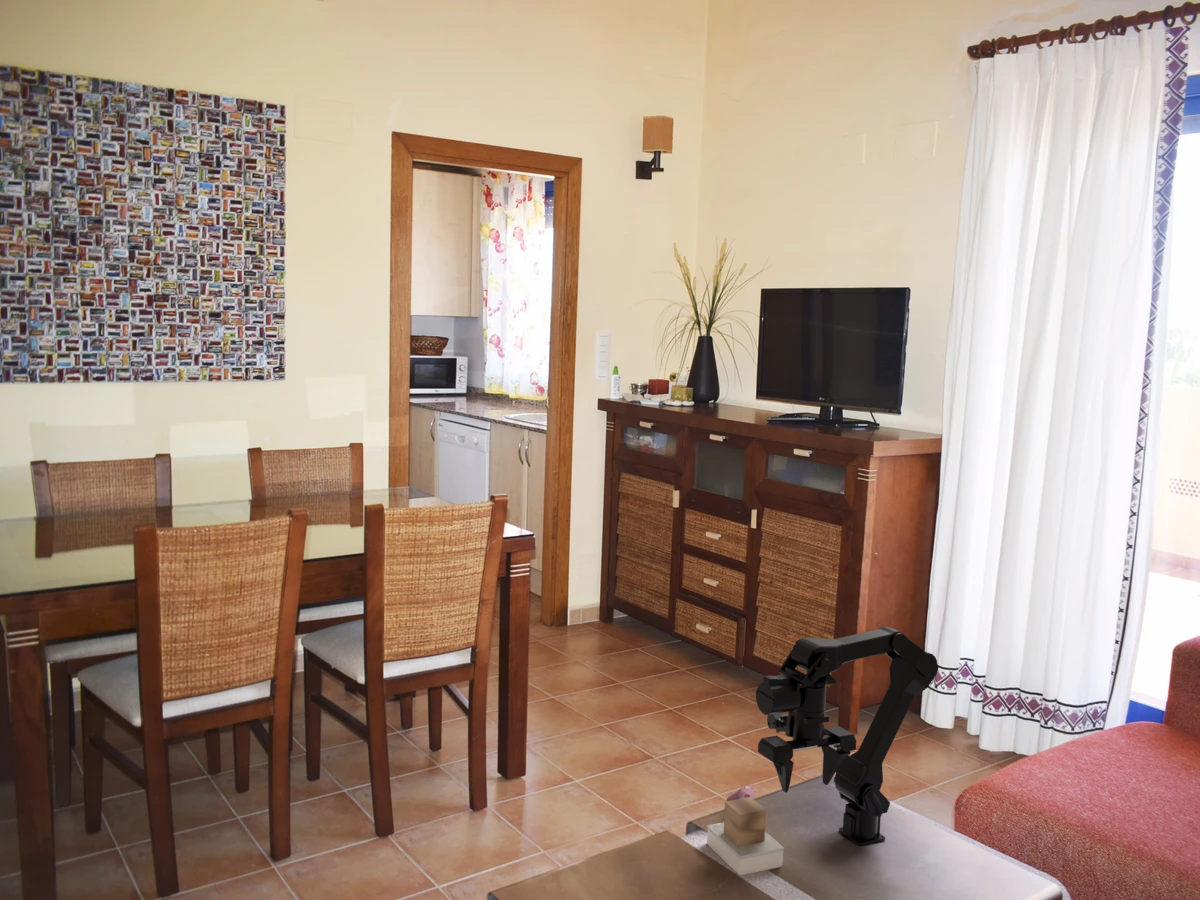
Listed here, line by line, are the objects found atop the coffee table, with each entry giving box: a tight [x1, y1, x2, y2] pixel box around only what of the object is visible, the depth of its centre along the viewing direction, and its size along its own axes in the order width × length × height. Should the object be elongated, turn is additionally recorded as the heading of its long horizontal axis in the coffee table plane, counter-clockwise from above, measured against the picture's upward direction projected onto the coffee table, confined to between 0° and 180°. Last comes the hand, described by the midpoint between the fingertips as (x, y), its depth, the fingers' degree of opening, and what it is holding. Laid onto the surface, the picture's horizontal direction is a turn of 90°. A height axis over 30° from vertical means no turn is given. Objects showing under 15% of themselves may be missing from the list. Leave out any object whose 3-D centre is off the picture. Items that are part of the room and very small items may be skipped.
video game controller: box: [725, 784, 756, 801], centre depth 193 cm, size 10×5×7 cm, turn 170°
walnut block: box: [723, 797, 767, 846], centre depth 178 cm, size 6×6×6 cm
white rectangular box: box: [706, 821, 785, 876], centre depth 178 cm, size 9×12×4 cm
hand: (805, 787), depth 180 cm, fingers open, 9 cm apart
